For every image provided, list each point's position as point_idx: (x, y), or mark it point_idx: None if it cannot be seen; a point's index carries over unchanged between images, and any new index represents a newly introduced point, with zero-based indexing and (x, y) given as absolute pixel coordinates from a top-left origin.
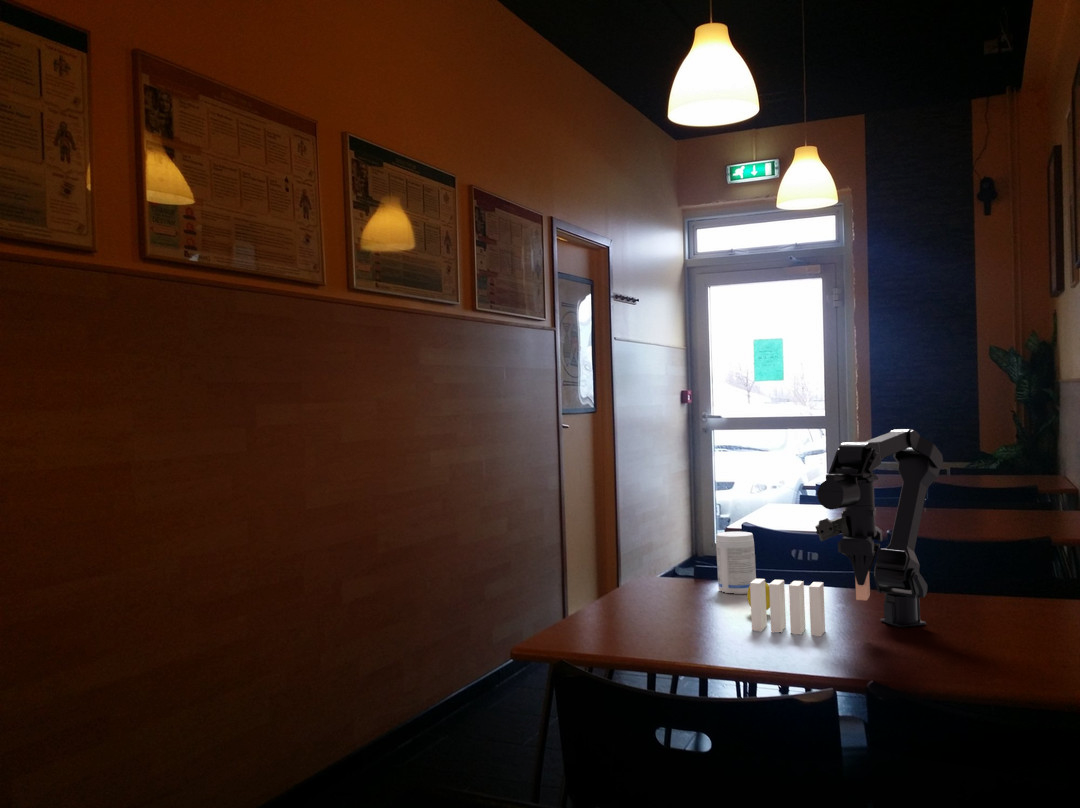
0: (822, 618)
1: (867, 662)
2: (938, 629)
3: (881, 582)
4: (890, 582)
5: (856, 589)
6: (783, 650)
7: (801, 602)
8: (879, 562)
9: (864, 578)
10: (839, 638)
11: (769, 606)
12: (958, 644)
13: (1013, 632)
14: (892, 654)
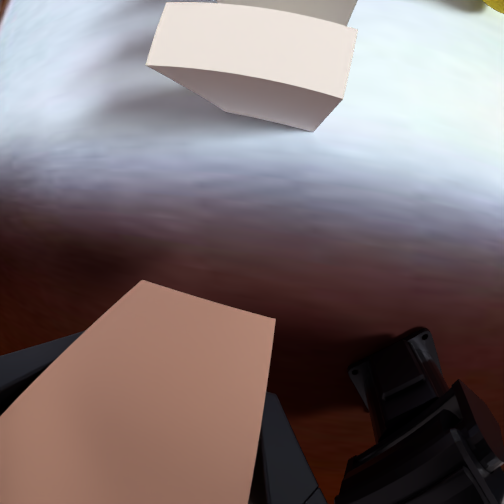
0: (259, 112)
1: (28, 227)
2: (332, 427)
3: (424, 428)
4: (386, 457)
5: (114, 308)
6: (79, 37)
7: (267, 8)
8: (456, 496)
9: None
10: (208, 171)
11: (487, 2)
12: None
13: None
14: (86, 291)
